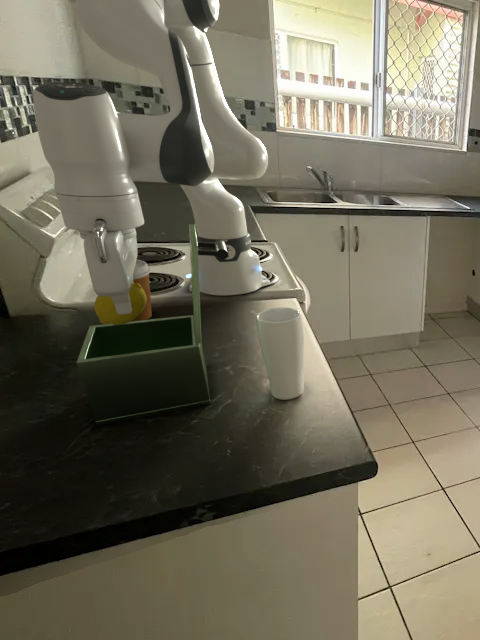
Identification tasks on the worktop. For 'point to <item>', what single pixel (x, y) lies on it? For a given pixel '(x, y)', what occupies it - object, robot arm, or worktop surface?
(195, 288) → the lid
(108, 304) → the lemon
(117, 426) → the worktop surface
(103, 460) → the worktop surface
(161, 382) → the green tapered box
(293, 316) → the drinking glass
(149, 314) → the disposable coffee cup
